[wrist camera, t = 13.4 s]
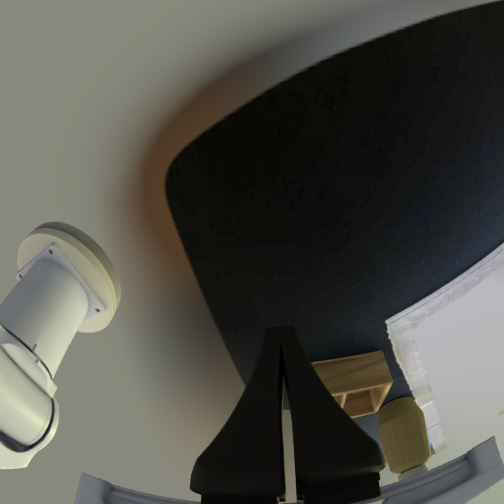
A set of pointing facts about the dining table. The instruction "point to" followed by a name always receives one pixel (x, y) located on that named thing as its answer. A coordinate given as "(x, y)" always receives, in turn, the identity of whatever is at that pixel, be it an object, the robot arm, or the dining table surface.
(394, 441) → the squeeze bottle
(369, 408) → the cutlery caddy
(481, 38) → the dining table surface
